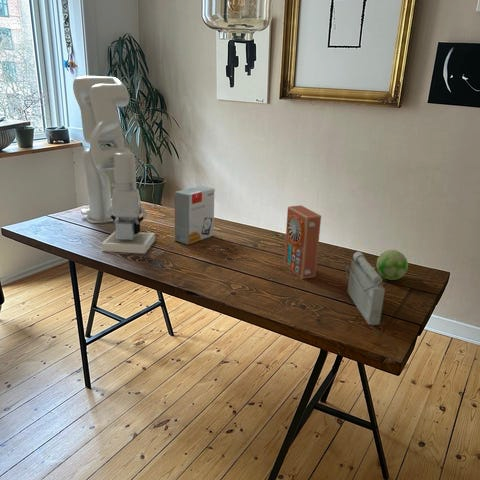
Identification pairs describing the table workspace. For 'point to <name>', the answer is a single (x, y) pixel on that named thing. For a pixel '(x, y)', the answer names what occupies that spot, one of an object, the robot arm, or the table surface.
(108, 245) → the white shallow square tray
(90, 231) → the table surface
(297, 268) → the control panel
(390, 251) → the decorative ball
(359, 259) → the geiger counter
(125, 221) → the block
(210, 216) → the hard drive box
